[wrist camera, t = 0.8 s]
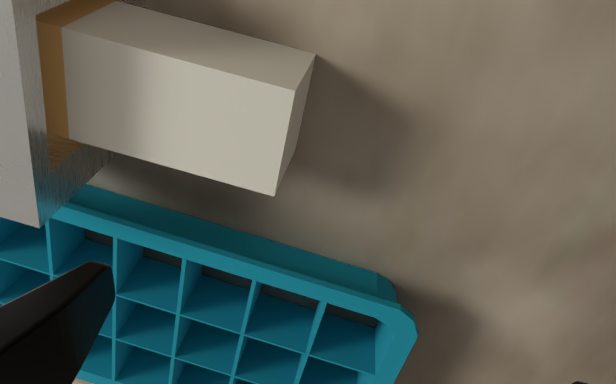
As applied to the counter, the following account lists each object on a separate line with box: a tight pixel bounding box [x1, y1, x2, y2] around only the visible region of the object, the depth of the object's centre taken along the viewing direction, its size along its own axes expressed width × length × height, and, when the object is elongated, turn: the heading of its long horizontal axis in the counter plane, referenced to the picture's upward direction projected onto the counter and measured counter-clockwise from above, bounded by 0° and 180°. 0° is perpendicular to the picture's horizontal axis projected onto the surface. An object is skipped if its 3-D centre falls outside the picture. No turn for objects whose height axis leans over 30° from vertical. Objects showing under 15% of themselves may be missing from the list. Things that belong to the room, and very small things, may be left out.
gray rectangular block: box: [0, 0, 117, 228], centre depth 18 cm, size 4×9×6 cm, turn 168°
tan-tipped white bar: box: [35, 0, 316, 197], centre depth 19 cm, size 10×4×4 cm, turn 78°
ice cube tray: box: [0, 184, 418, 384], centre depth 26 cm, size 12×20×3 cm, turn 77°
